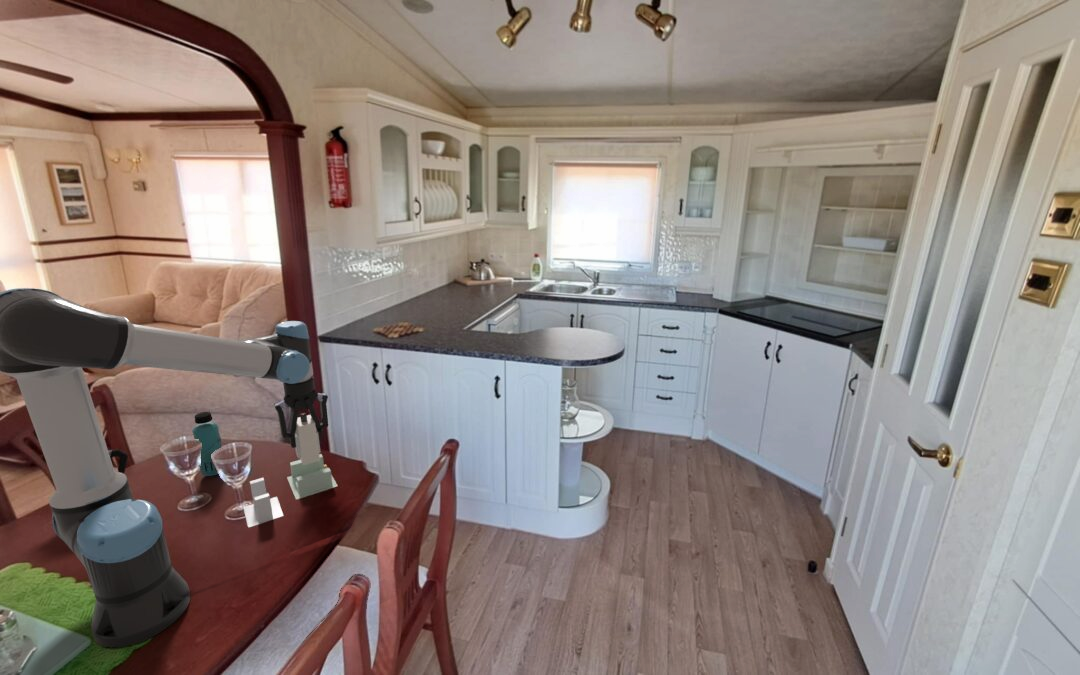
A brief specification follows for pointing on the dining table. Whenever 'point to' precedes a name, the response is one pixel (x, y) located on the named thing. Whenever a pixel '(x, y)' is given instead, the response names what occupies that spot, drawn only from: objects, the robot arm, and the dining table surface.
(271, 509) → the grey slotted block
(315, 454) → the white tall block
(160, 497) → the dining table surface
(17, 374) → the robot arm
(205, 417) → the beverage bottle
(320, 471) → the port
